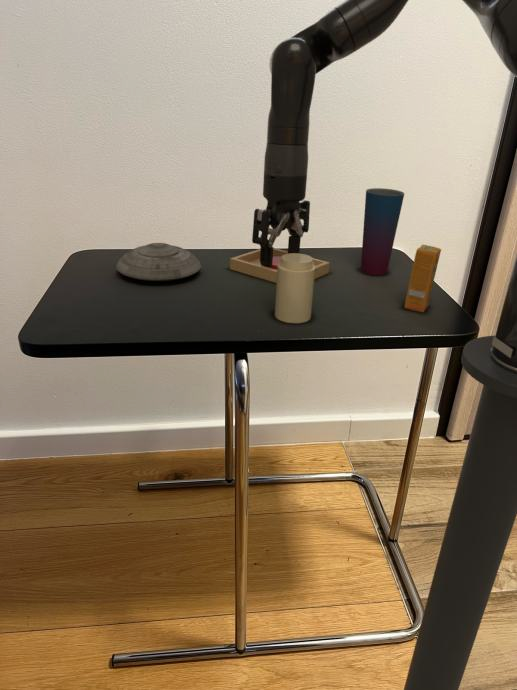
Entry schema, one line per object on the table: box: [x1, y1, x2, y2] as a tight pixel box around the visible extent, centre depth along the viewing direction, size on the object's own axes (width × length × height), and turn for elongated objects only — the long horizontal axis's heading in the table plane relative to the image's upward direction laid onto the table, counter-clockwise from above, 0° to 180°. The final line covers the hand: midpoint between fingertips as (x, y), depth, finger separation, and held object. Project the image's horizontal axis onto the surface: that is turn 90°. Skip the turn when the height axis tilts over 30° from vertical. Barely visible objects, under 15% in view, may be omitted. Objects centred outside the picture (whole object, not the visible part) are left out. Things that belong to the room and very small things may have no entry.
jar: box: [274, 253, 316, 324], centre depth 81 cm, size 6×6×9 cm
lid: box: [264, 256, 281, 270], centre depth 101 cm, size 6×6×1 cm
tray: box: [229, 247, 331, 284], centre depth 101 cm, size 15×12×2 cm
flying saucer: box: [115, 242, 202, 282], centre depth 97 cm, size 15×15×6 cm
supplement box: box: [404, 244, 442, 313], centre depth 86 cm, size 3×3×10 cm
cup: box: [360, 187, 405, 276], centre depth 101 cm, size 7×7×15 cm
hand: (280, 261), depth 101 cm, fingers open, 8 cm apart
